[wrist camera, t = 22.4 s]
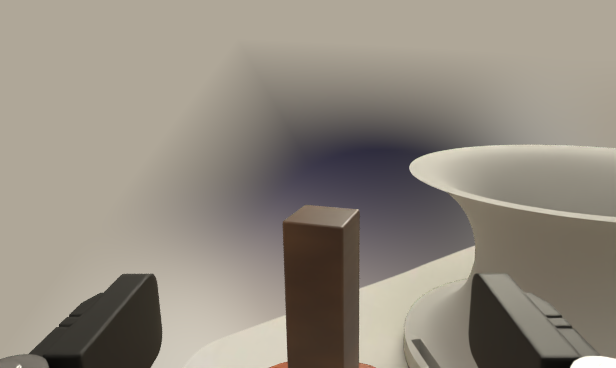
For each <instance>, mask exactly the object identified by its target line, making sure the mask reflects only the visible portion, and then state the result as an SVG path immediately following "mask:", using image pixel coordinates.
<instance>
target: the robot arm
mask: <svg viewBox="0 0 616 368" xmlns="http://www.w3.org/2000/svg"><path fill="white" fill-rule="evenodd" d="M468 336H469V345H470V350H471V354H472V356H473V359H474V360H475V362H476V364H477V366H478V368H616V359H614V358H609V357H602V356H601V355H600V354H599V353H598V352H597V351H596V350H595V349H594V348H593V347H592V346H591V345H590V344H589V343H588V342H587V341H586V340H585V339H584V338H583V337H582V336H581V335H580V334H579V332H578V331H577V330H576V329H572V325H571V324H570V323H569V322H568V321H567V320H566V319H565V318H562V315H561V314H560V313H559V312H558V311H557V310H556V309H555V308H554V307H553V306H552V305H551V304H550V303H549V302H547V301H545V300H543V299H542V298H540V297H538V296H536V295H534V294H533V293H525V292H524V291H523V290H522V289H521V288H520V287H519V285H518V284H517V283H516V282H515V281H514V280H513V279H512V278H511V277H510V275H508V274H507V273H476V274H474V276H473V279H472V286H471V301H470V315H469V330H468ZM161 342H162V324H161V315H160V305H159V296H158V287H157V281H156V277H155V276H154V274H122V275H121V276H120V277H119V278H118V279H117V280H116V281H115V282H114V283H113V284H112V285H111V286H110V287H109V288H108V289H107V290H106V291H105V292H104V293H99V294H97V295H96V296H94V297H92V298H90V299H88V300H86V301H84V302H83V303H81V304H80V305H79V306H78V307H77V308H76V309H75V310H74V311H73V312H72V313H71V314H70V315H69V317H67V318H66V319H65V320H63V321H62V322H61V323H60V324H59V327H56V328H55V329H54V330H53V331H52V332H51V333H50V334H49V335H48V336H47V337H46V338H45V339H44V340H43V341H42V342H41V343H40V344H38V345H37V346H36V347H35V348H34V349H33V350H32V351H31V352H30V353H29V354H23V355H16V356H10V357H6V358H3V359H0V368H151V366H152V364H153V362H154V361H155V359H156V358H157V356H158V353H159V351H160V347H161Z"/></svg>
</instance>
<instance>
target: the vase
mask: <svg viewBox="0 0 616 368" xmlns="http://www.w3.org/2000/svg"><path fill="white" fill-rule="evenodd" d="M409 168H410V171H411V173H412V174H413V175H414V176H415V177H416V178H418V179H419V180H421V181H423V182H424V183H426V184H429V185H431V186H433V187H435V188H438V189H440V190H444V191H446V192H447V193H449V194H450V195H451V196H452V197H453V198H454V199H455V200H456V201H457V202H458V203H459V204H460V206H461V207H462V209H463V210H464V212H465V213H466V215H467V217H468V219H469V222H470V224H471V226H472V229H473V234H474V239H475V261H474V264H473V268H472V271H471V274H470V276H469V278H468V279H462V280H458V281H454V282H450V283H447V284H444V285H441V286H439V287H436V288H434V289H432V290H430V291H428V292H427V293H425V294H424V295H422V296H421V297H420V298H419V299H418V300H416V302H415V303H414V304H413V305H412V306H411V308H410V309H409V311H408V313H407V316H406V319H405V325H404V352H405V357H406V360H407V364H408V366H409V368H478V366H477V364H476V362H475V360H474V359H473V356H472V354H471V350H470V345H469V336H468V330H469V315H470V301H471V286H472V279H473V276H474V274H476V273H507V274H508V275H510V277H511V278H512V279H513V280H514V281H515V282H516V283H517V284H518V285H519V287H520V288H521V289H522V290H523V291H524V292H525V293H533V294H534V295H536V296H538V297H540V298H542V299H543V300H545V301H547V302H549V303H550V304H551V305H552V306H553V307H554V308H555V309H556V310H557V311H558V312H559V313H560V314H561V315H562V318H565V319H566V320H567V321H568V322H569V323H570V324H571V325H572V329H576V330H577V331H578V332H579V334H580V335H581V336H582V337H583V338H584V339H585V340H586V341H587V342H588V343H589V344H590V345H591V346H592V347H593V348H594V349H595V350H596V351H597V352H598V353H599V354H600V355H601V356H602V357H609V358H614V359H616V149H614V148H601V147H585V146H563V145H497V146H479V147H467V148H458V149H451V150H445V151H440V152H435V153H431V154H427V155H424V156H422V157H419V158H417V159H416V160H414V161H413V162H412V163H411V164H410V167H409Z"/></svg>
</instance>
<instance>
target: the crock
mask: <svg viewBox="0 0 616 368" xmlns="http://www.w3.org/2000/svg"><path fill="white" fill-rule="evenodd" d="M270 368H288V362H284V363H280V364H277V365H275V366H272V367H270ZM359 368H376V367H373V366H371V365H367V364H363V363H359Z"/></svg>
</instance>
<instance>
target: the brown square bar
mask: <svg viewBox="0 0 616 368" xmlns="http://www.w3.org/2000/svg"><path fill="white" fill-rule="evenodd" d="M359 219H360V213H359V210H358V209H347V208H336V207H324V206H313V205H305V206H303V207H302V208H301V209H299V210H298V211H297V212H295V213H294V214H292V215H291V216H290V217H288V218H287V219H286V220H284V221H283V242H284V243H283V245H284V272H285V301H286V329H287V357H288V368H359V230H360V229H359V228H360V227H359V224H360V221H359Z"/></svg>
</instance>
